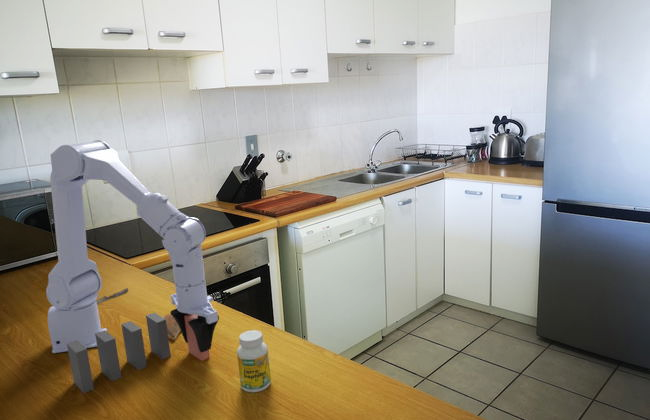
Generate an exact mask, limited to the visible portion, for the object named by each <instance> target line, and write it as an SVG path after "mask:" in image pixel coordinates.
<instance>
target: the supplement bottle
mask: <svg viewBox="0 0 650 420" xmlns="http://www.w3.org/2000/svg"><path fill="white" fill-rule="evenodd" d="M238 339H239V340H238V341H239V346H238V348H237V351H236V356H237V357H236V358H237V362H238V363H237V364H238V365H237V366H238V373H239V381H240V383H239V384H240V387H241V389H242V390H243V391H244V392H247V393H259V392H262V391H264V390H266V389H268V387H269V386H270V385H271V383H272V380H271V378H272V377H271V368H270V367H271V366H270V357H269V348H268V345H267V344H266V343H265V342H264V338H263V332H262V331H260V330H257V329H256V330H255V329H254V330H253V329H252V330H247V331H243V332H242V333H240V335H239V337H238Z"/></svg>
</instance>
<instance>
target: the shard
mask: <svg viewBox="0 0 650 420" xmlns="http://www.w3.org/2000/svg"><path fill="white" fill-rule="evenodd" d="M161 317H162V318H164V319H166V325H167V332H168V339H170V340H172V341H176V339H177V338H178V336H179V335H180V333H181V330H180V328H179V325H178V324H177V322H176V320H175V319H174V317H173V316H172V315H171V314H170V313H169V314H163V315H162V316H161Z"/></svg>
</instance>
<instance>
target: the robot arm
mask: <svg viewBox="0 0 650 420" xmlns="http://www.w3.org/2000/svg"><path fill="white" fill-rule="evenodd" d="M50 162H51V163H50V164H51V172H50V173H51V174H50V188H51V190H50V191H51V198H52V200H51V201H52V208H53V219H54V220H53V221H54V229H55V240H56V249H57V250H56V251H57V259H58V261H57V263H56V264H55V265H54V267H53V268H52V269H51V270H50V272H49V273H48V276H47V277H48V283H47V286H46V289H45V290H46V291H45V292H46V294H45V295H46V298H47V300H48V302H49V303H50V304H51V306H50V307H49V309H48V311H47V326H48V332H49V338H50V342H51V346H52V350H51V353H52V354H57V353H64V352H68V348H67V343H70V342H73V341H76V340H78V341H79V342H80V343H81V344H82V345H83V346H84V347H85V348H86V349H89V348H90V349H91V348H96V347H97V342H96V337H95V333H98V332H101V331H104V330H105V331H106V332H107V331H108V330H107V328H105V327H104V328H102V325H101V321H100V313H99V309H98V305H97V302H96V300H97V298H98V297H99V294H98V293H99V292H100V291H101V289H102V285H103V281H102V277H101V275H100V273H99V270H98V265H97V263H96V262H95V261H94V260H92V259H89V257H88V245H87V232H86V223H85V220H86V219H85V210H84V197H83V186H84V185H85V184H86V183H88V181H90V180H95V181H99V180H100V181H105V182H107V184H110V185H111V186H112V187H113V188H114V189H115V190H117V191H118V192H119V193H120V194H122V195H123V196H124V197H126V198H127V199H128V200H130V201H131V202H132V203H133V204H135V206H136V214H137V216H139V218H141V219H142V220H143V221H144V222H145V223H146V224H147V225H149V227H150V228H152V230H154V231H155V232H156V233H157V234H158V235H159V236H160V237H161V238H162V239H161V244H162V246H163V247H164V250H166V252H167V253H168V256H169V261H170V262H171V265H172V274H173V279H174V287H175V293H173V294H171V295H170V300H171V304H172V305H173V306H175V308H174V309H172V310H171V311H170V313H169V314H170V315H172V316H173V317H174V319H175V320H176V322H177V324H178V325H179V328H180V330H181V331H180V333H181V335H182V336H183V339H184V342H185V343H186V344H188V341H187V333H186V325H185V318H184V316H186V315H188V314H192V315H197V316H198V318H196V319H193V320H191V321H188V324H189V325H190V326H191V328H192V330H193V331H194V334H195V336H196V340H197V344H198V348H199V350H200V352H202V353H203V352H205V351H207V350H209V351H210V350H211V348H212V342H213V337H214V331H215V329H216V326H217V323H218V322H219V319H220V316H219V314H218V311H217V310H216V309H214V307H213V305H212V304H211V302H213V301H214V300H213V297H212V296H210V295H208V292H207V284H206V282H207V281H206V275H205V274H206V273H205V267H204V257H203V247H202V244H203V243H204V242H205V240H206V236H207V234H206V229H205V226H204V224H203V223H202V222H201V221H200V219H198V218H197V217H191V216H188V215H186V214H185V213H183V212H181V211H180V210H179V209H177V208H176V206H174V204H172V203H171V201H169V198H168V196H167V195H165V194H161V193H159V192H150V191H149V190H148V189H147V188H146V187H145V186H144V185H143V183H141V182H140V180H138V178H137V177H136V176H135V175H134V174H133V173H132V172H131V171H130V170H129V169H128V167H126V166H125V164H123V163H122V161H120V159H119V154H118V152H117V151H116V150H115V149H114V148H112V147H111V145H109V144H108V143H107V142H105V141H104V140H102V139H97V140H96V139H95V140H93V141H87V142H82V143H81V142H80V143H74V144H73V143H72V144H63V145H60V146H59V147H57V148H56V149H55V150H54V151H53V152H52V153H51V154H50Z"/></svg>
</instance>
